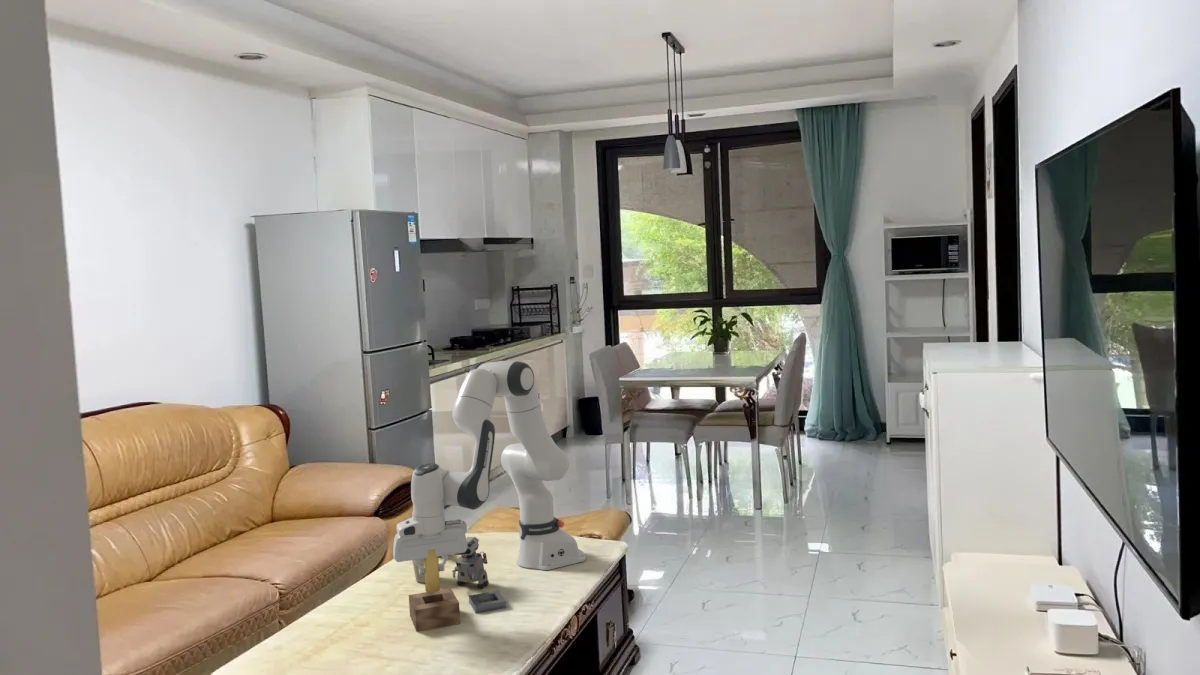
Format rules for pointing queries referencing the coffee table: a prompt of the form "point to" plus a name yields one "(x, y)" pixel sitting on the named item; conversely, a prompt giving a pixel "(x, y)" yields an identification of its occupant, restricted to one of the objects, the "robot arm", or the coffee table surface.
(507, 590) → the coffee table surface
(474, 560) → the figurine
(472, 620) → the coffee table surface
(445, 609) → the socket
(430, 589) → the pin
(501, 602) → the collar
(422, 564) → the flower pot
